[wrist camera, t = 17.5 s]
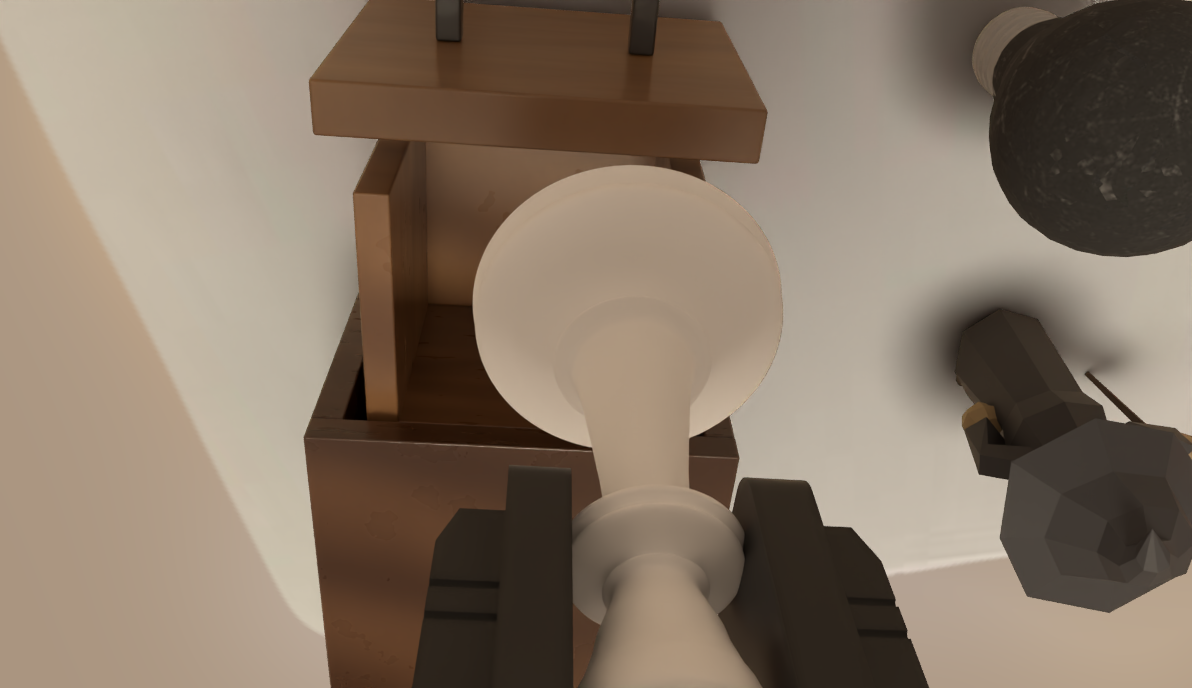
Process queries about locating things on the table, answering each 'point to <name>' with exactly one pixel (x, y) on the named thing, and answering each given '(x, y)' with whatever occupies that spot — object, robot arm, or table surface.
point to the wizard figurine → (1073, 472)
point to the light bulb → (1094, 122)
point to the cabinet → (426, 512)
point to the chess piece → (637, 396)
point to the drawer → (500, 158)
